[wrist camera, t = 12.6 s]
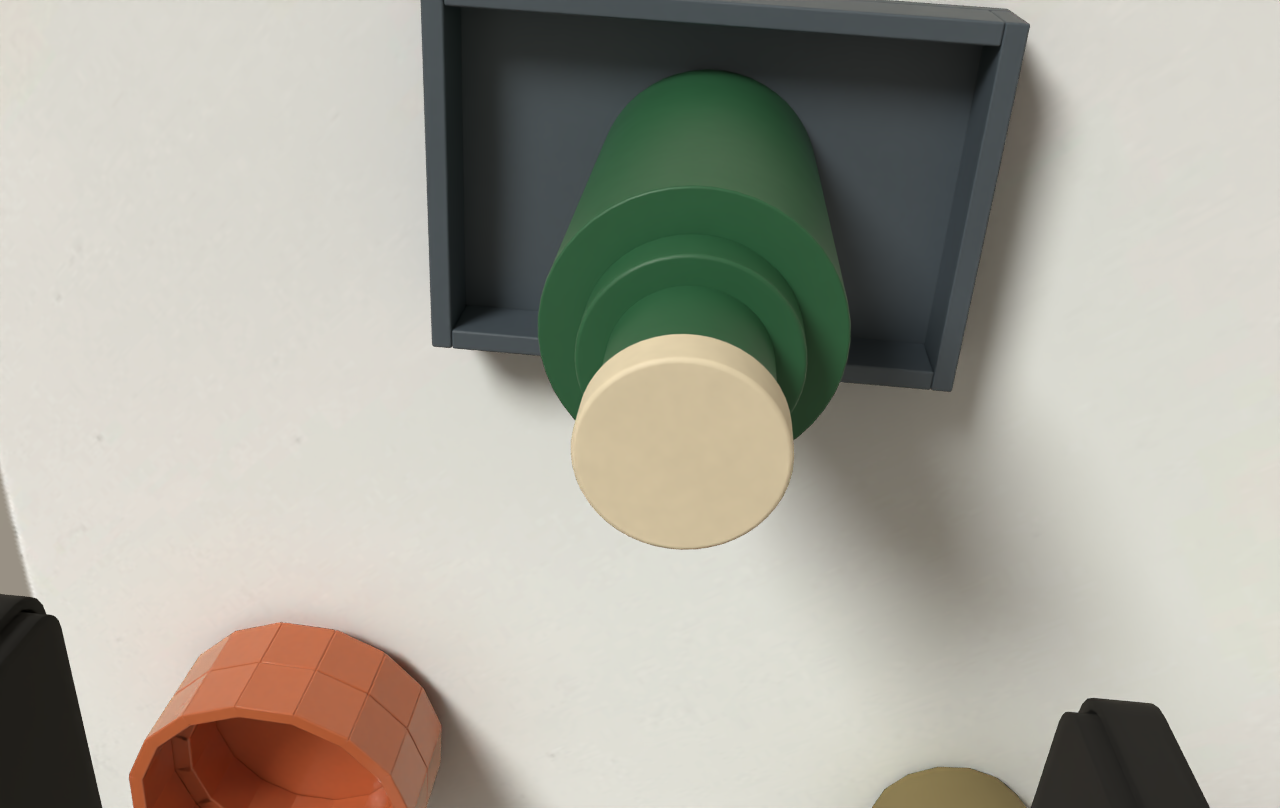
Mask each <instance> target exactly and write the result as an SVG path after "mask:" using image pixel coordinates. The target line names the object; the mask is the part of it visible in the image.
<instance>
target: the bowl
mask: <svg viewBox="0 0 1280 808" xmlns="http://www.w3.org/2000/svg"><path fill="white" fill-rule="evenodd" d="M441 735H442V726H441V723H440V721H439V719H438V717H437V715H436V713H435V711H434V709H433V707H432V705H431V703H430V701H429V698H428V696H427V694H426V692H425V690H424V688H423V687H422V686H421V685H420V684H419V683H418V682H417V681H416V680H415V679H413V678H412V677H411V676H410V675H409V674H408V673H407V672H406V671H405V670H404V669H403V668H402V667H400V666H399V665H398V664H397V663H396V662H395V661H394V660H393V659H392V658H391V657H390V656H389V655H387V654H385V652H383V651H381V650H379V649H377V648H375V647H373V646H370V645H368V644H366V643H364V642H362V641H360V640H357V639H355V638H353V637H351V636H349V635H347V634H345V633H342V632H340V631H338V630H336V631H335V630H334V629H326V628H319V627H312V626H305V625H298V624H291V623H282V622H280V623H275V624H270V625H264V626H259V627H254V628H249V629H244V630H238V631H235V632H234V633H232V634H230V635H229V636H227V637H226V638H225V639H223V640H222V641H220V642H219V643H217V644H216V645H214V646H213V647H212V648H210V649H209V650H207V651H206V652H204V653H203V654H201V655H200V657H198V659H197V660H196V662H195V663H194V665H193V667H192V668H191V670H190V671H189V673H188V674H187V676H186V677H185V679H184V680H183V682H182V684H181V685H180V687H179V688H178V690H177V691H176V693H175V694H174V696H173V698H172V699H171V700H170V702H169V704H168V705H167V707H166V708H165V710H164V711H163V713H162V714H161V716H160V717H159V719H158V721H157V722H156V724H155V725H154V727H153V728H152V730H151V731H150V733H149V734H148V736H147V737H146V739H145V741H144V743H143V745H142V747H141V749H140V752H139V754H138V756H137V758H136V760H135V763H134V765H133V767H132V769H131V771H130V774H129V781H130V787H131V794H132V801H133V807H134V808H426V807H427V804H428V801H429V798H430V795H431V791H432V788H433V785H434V782H435V779H436V776H437V773H438V769H439V766H440V763H441Z"/></svg>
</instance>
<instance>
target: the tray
mask: <svg viewBox="0 0 1280 808" xmlns="http://www.w3.org/2000/svg"><path fill="white" fill-rule="evenodd" d="M421 24H422V55H423V85H424V115H425V145H426V175H427V205H428V236H429V266H430V296H431V326H432V345H433V346H434V347H445V348H451V347H452V346H453V348H457V349H468V350H480V351H491V352H503V353H514V354H526V355H537V356H541V354H540V347H539V340H538V313H539V306H540V299H541V295H542V292H543V289H544V285H545V282H546V279H547V277H548V274H549V272H550V269H551V267H552V265H553V262H554V260H555V258H556V255H557V253H558V251H559V248H560V246H561V243H562V241H563V239H564V236H565V234H566V232H567V229H568V227H569V224H570V222H571V220H572V217H573V215H574V213H575V210H576V208H577V206H578V203H579V201H580V198H581V196H582V194H583V191H584V189H585V187H586V184H587V182H588V179H589V177H590V175H591V172H592V170H593V168H594V165H595V163H596V161H597V158H598V156H599V153H600V151H601V149H602V146H603V144H604V142H605V139H606V137H607V135H608V133H609V130H610V128H611V126H612V125H613V123H614V121H615V120H616V118H617V117H618V115H619V114H620V113H621V111H622V110H623V109H624V108H625V107H626V105H627V104H628V103H629V102H630V101H631V100H632V99H634V98H635V97H636V96H637V95H638V94H639V93H640V92H642V91H643V90H645V89H646V88H648V87H649V86H651V85H652V84H654V83H656V82H658V81H660V80H662V79H664V78H667V77H670V76H672V75H675V74H678V73H683V72H688V71H692V70H706V69H709V70H723V71H728V72H733V73H738V74H741V75H744V76H747V77H749V78H752V79H754V80H756V81H758V82H760V83H762V84H764V85H765V86H767V87H768V88H770V89H771V90H773V91H774V92H776V93H777V94H778V95H779V96H780V97H781V98H782V99H783V100H785V101H786V102H787V103H788V104H789V106H790V107H791V108H792V109H793V110H794V112H795V113H796V114H797V116H798V117H799V119H800V120H801V122H802V124H803V125H804V127H805V129H806V131H807V134H808V136H809V138H810V141H811V144H812V148H813V151H814V155H815V159H816V164H817V168H818V173H819V177H820V182H821V186H822V190H823V195H824V199H825V204H826V208H827V212H828V217H829V221H830V226H831V230H832V235H833V239H834V243H835V248H836V252H837V257H838V261H839V265H840V270H841V274H842V279H843V283H844V287H845V292H846V296H847V301H848V307H849V314H850V321H851V329H850V347H849V353H848V359H847V363H846V366H845V369H844V373H843V376H842V378H841V381H840V382H846V383H858V384H869V385H881V386H892V387H904V388H915V389H927V390H929V389H930V388H931V390H936V391H947V392H951V391H952V387H953V382H954V378H955V373H956V368H957V364H958V359H959V354H960V350H961V345H962V340H963V336H964V331H965V326H966V322H967V317H968V312H969V308H970V303H971V298H972V294H973V289H974V284H975V280H976V275H977V271H978V266H979V261H980V257H981V252H982V247H983V243H984V238H985V233H986V229H987V224H988V219H989V215H990V210H991V205H992V201H993V196H994V191H995V187H996V182H997V177H998V173H999V168H1000V163H1001V159H1002V154H1003V149H1004V145H1005V140H1006V135H1007V131H1008V126H1009V121H1010V117H1011V112H1012V107H1013V103H1014V98H1015V93H1016V89H1017V84H1018V79H1019V75H1020V70H1021V65H1022V61H1023V56H1024V51H1025V47H1026V42H1027V37H1028V33H1029V28H1030V24H1029V23H1027V22H1026V21H1024V20H1023V19H1021V18H1020V17H1018V16H1017V15H1016V14H1014V13H1013V12H1011V11H1010V10H1008V9H1001V8H987V7H973V6H959V5H945V4H932V3H918V2H904V1H890V0H421Z"/></svg>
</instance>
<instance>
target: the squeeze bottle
mask: <svg viewBox="0 0 1280 808" xmlns="http://www.w3.org/2000/svg"><path fill="white" fill-rule="evenodd" d="M872 808H1027V807H1026V806H1025V805H1024V804H1023V802H1022V801H1021V800H1020V799H1019V797H1018V796H1017V795H1016V794H1015V793H1014V792H1013V791H1012V790H1011V789H1009V788H1008V787H1007V786H1006V785H1005V784H1003V783H1002V782H1001V781H1000V780H999V779H998V778H996V777H993V776H990V775H987V774H985V773H982V772H979V771H976V770H973V769H970V768H953V767H936V768H932V769H928V770H924V771H920V772H916V773H912V774H908V775H906V776H905V777H903V778H902V779H900V780H899V781H897V782H895V783H894V784H892V785H891V786H889V787H888V788H886V789H885V790H884V791H883V793H882V794H881V795H880V797H879V798H878V800H877V801H876V803H875V804H874V806H873V807H872Z"/></svg>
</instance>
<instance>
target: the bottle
mask: <svg viewBox="0 0 1280 808" xmlns="http://www.w3.org/2000/svg"><path fill="white" fill-rule="evenodd" d="M850 329H851V321H850V314H849V307H848V301H847V296H846V292H845V287H844V283H843V279H842V274H841V270H840V265H839V261H838V257H837V252H836V248H835V243H834V239H833V235H832V230H831V226H830V221H829V217H828V212H827V208H826V204H825V199H824V195H823V190H822V186H821V182H820V177H819V173H818V168H817V164H816V159H815V155H814V151H813V148H812V144H811V141H810V138H809V136H808V134H807V131H806V129H805V127H804V125H803V124H802V122H801V120H800V119H799V117H798V116H797V114H796V113H795V112H794V110H793V109H792V108H791V107H790V106H789V104H788V103H787V102H786V101H785V100H783V99H782V98H781V97H780V96H779V95H778V94H777V93H776V92H774V91H773V90H771V89H770V88H768V87H767V86H765V85H764V84H762V83H760V82H758V81H756V80H754V79H752V78H749V77H747V76H744V75H741V74H738V73H733V72H728V71H723V70H709V69H706V70H692V71H688V72H683V73H678V74H675V75H672V76H670V77H667V78H664V79H662V80H660V81H658V82H656V83H654V84H652V85H651V86H649V87H648V88H646V89H645V90H643V91H642V92H640V93H639V94H638V95H637V96H636V97H635V98H634V99H632V100H631V101H630V102H629V103H628V104H627V105H626V107H625V108H624V109H623V110H622V111H621V113H620V114H619V115H618V117H617V118H616V120H615V121H614V123H613V125H612V126H611V128H610V130H609V133H608V135H607V137H606V139H605V142H604V144H603V146H602V149H601V151H600V153H599V156H598V158H597V161H596V163H595V165H594V168H593V170H592V172H591V175H590V177H589V179H588V182H587V184H586V187H585V189H584V191H583V194H582V196H581V198H580V201H579V203H578V206H577V208H576V210H575V213H574V215H573V217H572V220H571V222H570V224H569V227H568V229H567V232H566V234H565V236H564V239H563V241H562V243H561V246H560V248H559V251H558V253H557V255H556V258H555V260H554V262H553V265H552V267H551V269H550V272H549V274H548V277H547V279H546V282H545V285H544V289H543V292H542V295H541V299H540V306H539V313H538V340H539V347H540V354H541V358H542V361H543V365H544V368H545V372H546V374H547V376H548V379H549V381H550V383H551V385H552V388H553V390H554V391H555V393H556V395H557V396H558V398H559V399H560V401H561V403H562V404H563V406H564V407H565V408H566V409H567V411H568V412H569V413H570V415H571V416H572V417H573V418H574V420H576V421H575V424H574V428H573V433H572V439H571V458H572V466H573V470H574V473H575V477H576V480H577V482H578V484H579V486H580V489H581V491H582V492H583V494H584V496H585V497H586V499H587V500H588V502H589V503H590V505H591V506H592V507H593V508H594V509H595V511H596V512H597V513H598V514H599V515H600V516H601V517H602V518H603V519H604V520H605V521H606V522H608V523H609V524H610V525H612V526H613V527H614V528H616V529H617V530H619V531H621V532H622V533H624V534H626V535H628V536H629V537H632V538H634V539H636V540H639V541H641V542H644V543H647V544H650V545H654V546H658V547H663V548H670V549H681V550H682V549H701V548H708V547H712V546H716V545H720V544H724V543H726V542H729V541H732V540H734V539H736V538H738V537H740V536H742V535H744V534H746V533H748V532H749V531H751V530H752V529H754V528H755V527H756V526H758V525H759V524H760V523H761V522H762V521H763V520H765V519H766V518H767V517H768V516H769V515H770V513H771V512H772V511H773V510H774V509H775V508H776V506H777V505H778V503H779V502H780V500H781V499H782V497H783V496H784V494H785V491H786V489H787V487H788V485H789V482H790V479H791V475H792V472H793V464H794V443H793V440H794V439H796V438H797V437H799V436H800V435H801V434H802V433H803V432H804V431H805V430H806V429H807V428H808V427H809V426H811V425H812V424H813V423H814V421H815V420H816V419H817V418H818V417H819V415H820V414H821V413H822V412H823V411H824V409H825V408H826V406H827V405H828V403H829V402H830V400H831V398H832V397H833V395H834V394H835V392H836V389H837V387H838V385H839V383H840V381H841V378H842V376H843V373H844V369H845V366H846V363H847V359H848V353H849V347H850Z"/></svg>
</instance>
